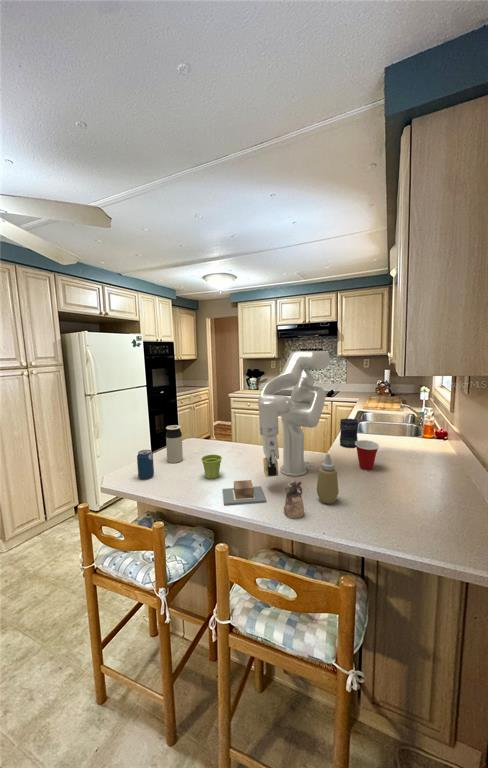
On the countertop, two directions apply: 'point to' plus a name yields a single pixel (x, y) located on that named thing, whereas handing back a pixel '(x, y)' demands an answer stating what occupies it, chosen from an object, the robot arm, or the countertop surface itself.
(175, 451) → the travel mug
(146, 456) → the soda can
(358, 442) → the plastic cup
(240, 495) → the walnut base
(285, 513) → the figurine
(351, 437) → the storage jar
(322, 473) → the squeeze bottle
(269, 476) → the oak cube
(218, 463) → the plant pot
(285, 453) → the robot arm
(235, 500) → the slate mat
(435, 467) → the countertop surface
